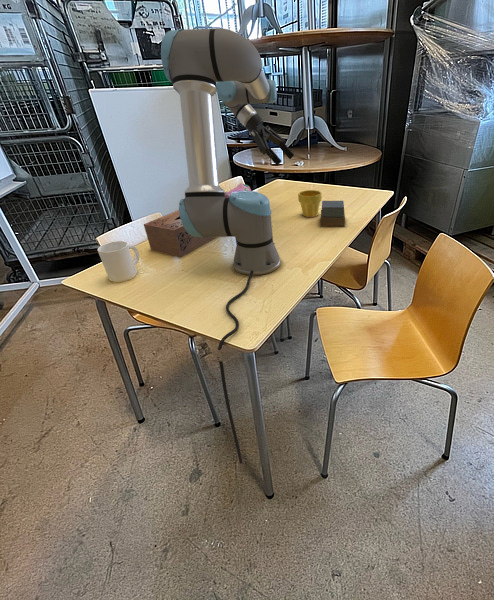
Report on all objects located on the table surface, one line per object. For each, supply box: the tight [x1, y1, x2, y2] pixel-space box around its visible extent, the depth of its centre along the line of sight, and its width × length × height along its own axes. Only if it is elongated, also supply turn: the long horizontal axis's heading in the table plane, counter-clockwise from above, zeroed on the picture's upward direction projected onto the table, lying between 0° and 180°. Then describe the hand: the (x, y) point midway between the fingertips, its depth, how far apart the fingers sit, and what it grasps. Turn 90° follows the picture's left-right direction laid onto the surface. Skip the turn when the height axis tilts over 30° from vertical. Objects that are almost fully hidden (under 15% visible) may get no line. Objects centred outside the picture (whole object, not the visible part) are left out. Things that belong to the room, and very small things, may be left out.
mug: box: [97, 240, 140, 283], centre depth 105 cm, size 12×8×10 cm
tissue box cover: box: [143, 209, 217, 258], centre depth 127 cm, size 26×14×10 cm, turn 154°
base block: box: [319, 209, 346, 228], centre depth 141 cm, size 10×10×4 cm
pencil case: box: [225, 182, 252, 198], centre depth 162 cm, size 21×9×9 cm, turn 162°
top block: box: [321, 200, 345, 217], centre depth 139 cm, size 9×9×4 cm
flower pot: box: [297, 189, 323, 218], centre depth 149 cm, size 10×10×10 cm
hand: (286, 160), depth 143 cm, fingers open, 13 cm apart
